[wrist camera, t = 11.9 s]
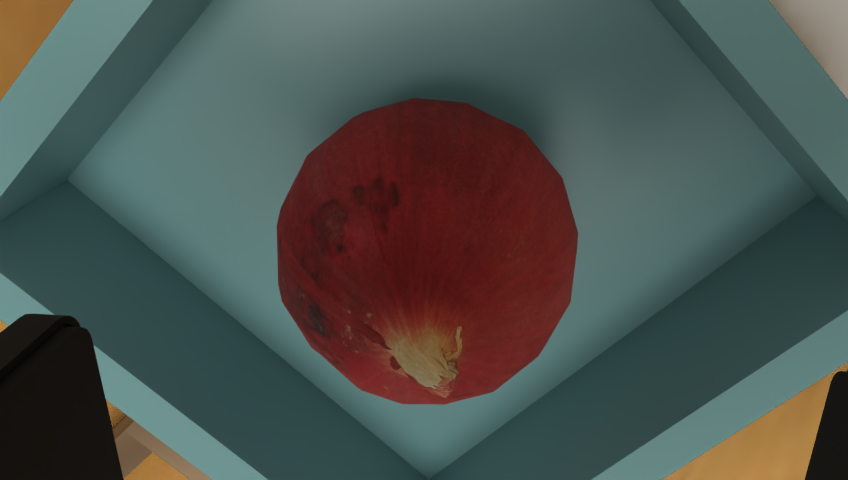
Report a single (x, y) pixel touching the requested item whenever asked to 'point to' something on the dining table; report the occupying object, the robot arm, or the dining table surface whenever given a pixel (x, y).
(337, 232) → the onion
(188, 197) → the bin
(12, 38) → the dining table surface
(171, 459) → the frame
